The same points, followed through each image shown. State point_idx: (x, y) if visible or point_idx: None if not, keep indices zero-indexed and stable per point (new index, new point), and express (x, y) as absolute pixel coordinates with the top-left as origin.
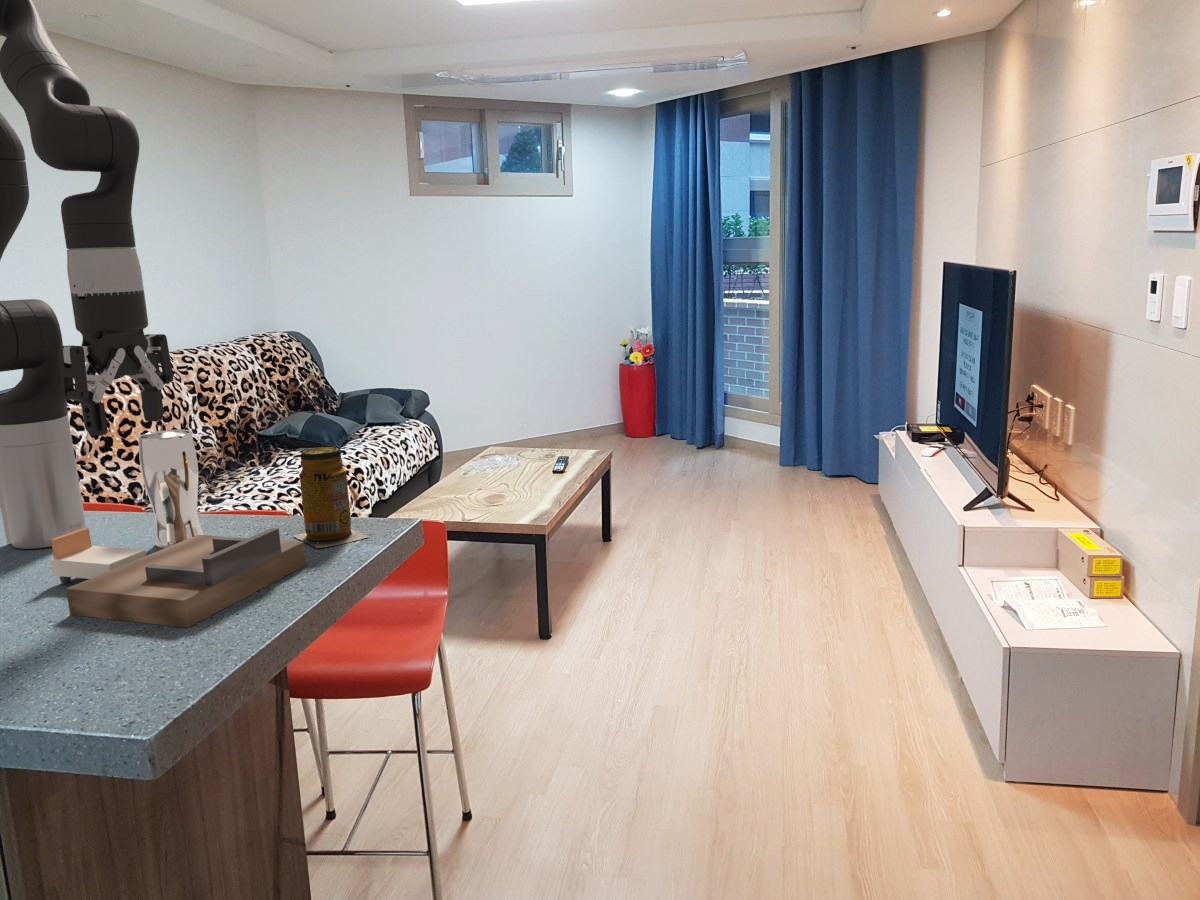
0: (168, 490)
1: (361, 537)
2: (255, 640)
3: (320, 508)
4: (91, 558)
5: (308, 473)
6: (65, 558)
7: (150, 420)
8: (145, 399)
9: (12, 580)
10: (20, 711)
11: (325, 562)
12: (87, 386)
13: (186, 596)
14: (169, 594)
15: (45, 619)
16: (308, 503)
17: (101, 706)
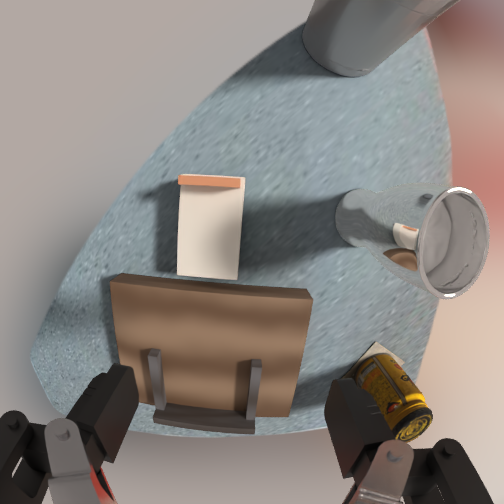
0: (369, 248)
1: None
2: (139, 426)
3: None
4: (193, 231)
5: (385, 418)
6: (188, 192)
7: (330, 392)
8: (349, 433)
9: (198, 108)
10: (35, 351)
11: (295, 409)
12: (48, 486)
13: None
14: None
15: (108, 256)
16: (371, 394)
17: (55, 385)
